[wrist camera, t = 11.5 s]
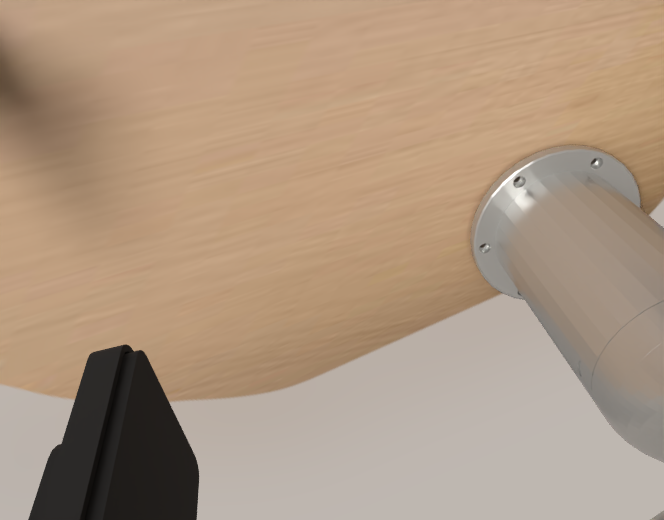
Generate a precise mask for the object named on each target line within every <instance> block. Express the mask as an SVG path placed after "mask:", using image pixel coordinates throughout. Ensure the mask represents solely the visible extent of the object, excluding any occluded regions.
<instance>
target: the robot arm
mask: <svg viewBox="0 0 664 520" xmlns="http://www.w3.org/2000/svg"><path fill="white" fill-rule="evenodd" d="M640 202H641V199H640V194H639V189H638V185H637V183H636V181H635V179H634V177H633V175H632V174H631V172H630V171H629V170H628V169H627V168H626V167H625V165H624V164H623V163H621V162H620V161H619V160H617V159H616V158H615V157H613V156H612V155H610V154H608V153H606V152H604V151H602V150H600V149H597V148H593V147H589V146H584V145H565V146H559V147H552V148H549V149H546V150H543V151H540V152H537V153H535V154H533V155H531V156H529V157H527V158H525V159H523V160H521V161H519V162H518V163H517V164H515V165H514V166H513V167H511V168H510V169H509V170H507V171H506V172H505V173H504V174H503V175H502V176H501V177H500V178H499V179H498V180H497V181H496V182H495V183H494V184H493V185H492V186H491V187H490V189H489V190H488V192H487V193H486V194H485V196H484V197H483V199H482V201H481V203H480V205H479V207H478V209H477V211H476V213H475V216H474V220H473V223H472V227H471V237H470V244H471V251H472V256H473V258H474V261H475V263H476V266H477V267H478V269H479V271H480V272H481V274H482V275H483V277H484V278H485V279H486V280H487V281H488V283H489V284H490V285H491V286H492V287H494V288H495V289H497V290H498V291H500V292H501V293H503V294H506V295H508V296H511V297H514V298H519V299H524V300H525V301H526V302H527V303H528V305H529V307H530V308H531V310H532V311H533V312H534V314H535V315H536V317H537V318H538V320H539V321H540V323H541V324H542V326H543V327H544V329H545V330H546V331H547V333H548V335H549V336H550V337H551V339H552V340H553V342H554V343H555V345H556V346H557V348H558V349H559V351H560V352H561V354H562V355H563V357H564V358H565V359H566V361H567V362H568V364H569V365H570V367H571V368H572V370H573V371H574V373H575V374H576V376H577V377H578V378H579V380H580V381H581V383H582V384H583V386H584V387H585V389H586V390H587V392H588V393H589V395H590V396H591V397H592V399H593V400H594V402H595V403H596V405H597V407H598V408H599V410H600V411H601V413H602V414H603V415H604V417H605V418H606V420H607V421H608V423H609V424H610V425H611V426H612V428H613V429H614V430H615V431H616V432H617V433H618V434H619V435H620V436H621V437H622V438H623V439H624V440H625V441H627V442H628V443H629V444H631V445H632V446H634V447H635V448H637V449H638V450H639V451H641V452H643V453H644V454H646V455H648V456H651V457H653V458H655V459H657V460H659V461H662V462H664V228H663V227H662V226H660V225H659V224H658V223H657V222H656V221H654V220H653V219H652V218H651V217H650V216H648V215H647V214H646V213H645V212H644V211H642V210H641V209H640ZM198 487H199V470H198V464H197V460H196V457H195V455H194V454H193V451H192V449H191V447H190V445H189V443H188V441H187V439H186V436H185V435H184V433H183V430H182V428H181V426H180V424H179V422H178V420H177V418H176V416H175V414H174V412H173V410H172V408H171V406H170V403H169V401H168V399H167V397H166V395H165V393H164V391H163V389H162V387H161V385H160V383H159V381H158V379H157V377H156V375H155V373H154V371H153V369H152V366H151V364H150V362H149V360H148V358H147V356H146V355H145V353H144V352H143V351H141V350H139V351H135V352H134V351H133V350H132V348H131V347H130V346H129V345H121V346H117V347H113V348H109V349H105V350H101V351H96V352H93V353H91V354H90V355H89V358H88V360H87V363H86V366H85V370H84V373H83V376H82V379H81V383H80V386H79V389H78V392H77V396H76V399H75V402H74V405H73V408H72V412H71V415H70V418H69V422H68V425H67V428H66V431H65V434H64V438H63V442H62V444H60V445H57V446H56V447H55V448H54V449H53V450H52V452H51V454H50V456H49V458H48V461H47V464H46V467H45V470H44V473H43V476H42V479H41V482H40V486H39V489H38V492H37V495H36V498H35V501H34V504H33V507H32V510H31V513H30V517H29V519H28V520H196V519H197V503H198ZM651 520H664V511H662V512H661V513H660V514H658V515H657V516H655V517H654V518H652V519H651Z"/></svg>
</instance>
